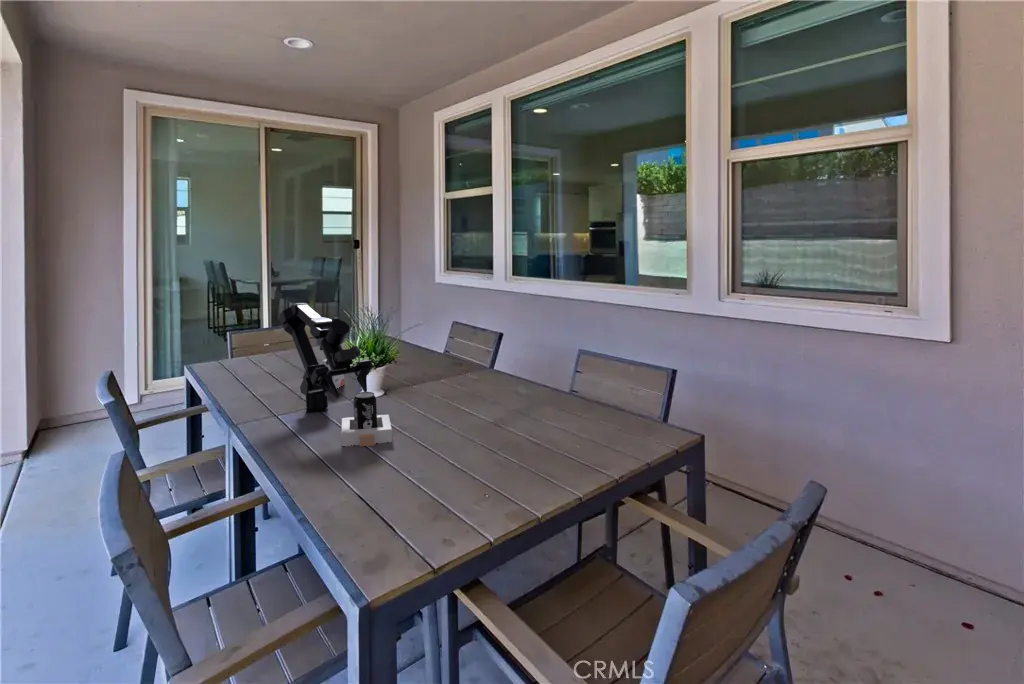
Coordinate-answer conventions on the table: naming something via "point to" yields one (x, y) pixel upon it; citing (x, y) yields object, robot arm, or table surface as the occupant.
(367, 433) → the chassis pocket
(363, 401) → the beverage can
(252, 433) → the table surface
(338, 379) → the ink cartridge box
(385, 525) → the table surface
